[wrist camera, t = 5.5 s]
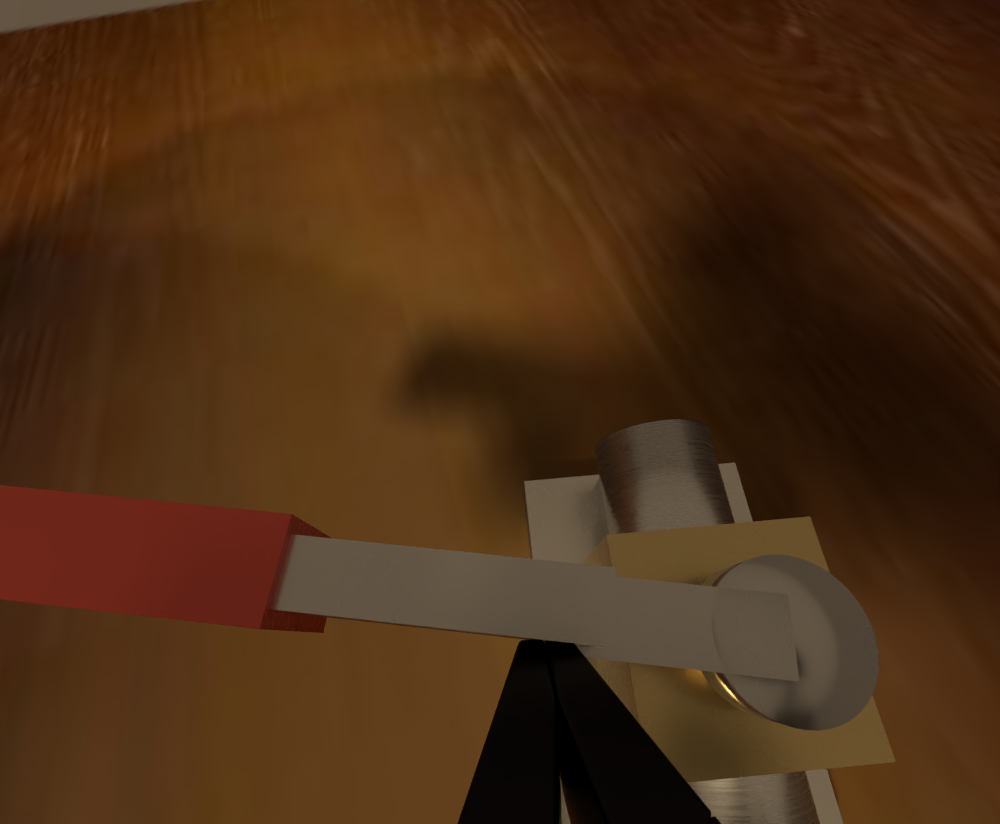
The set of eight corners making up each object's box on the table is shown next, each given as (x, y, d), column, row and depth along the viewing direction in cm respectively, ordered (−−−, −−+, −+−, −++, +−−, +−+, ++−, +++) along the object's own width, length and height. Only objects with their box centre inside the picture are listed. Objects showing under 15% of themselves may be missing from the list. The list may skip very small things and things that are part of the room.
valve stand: (829, 838, 17) (1110, 1010, 9) (564, 866, 17) (611, 1065, 9) (724, 471, 22) (840, 377, 14) (523, 489, 22) (530, 403, 14)
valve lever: (846, 728, 11) (1034, 775, 7) (83, 638, 12) (-125, 635, 8) (820, 571, 12) (966, 537, 8) (139, 503, 13) (-16, 444, 9)
